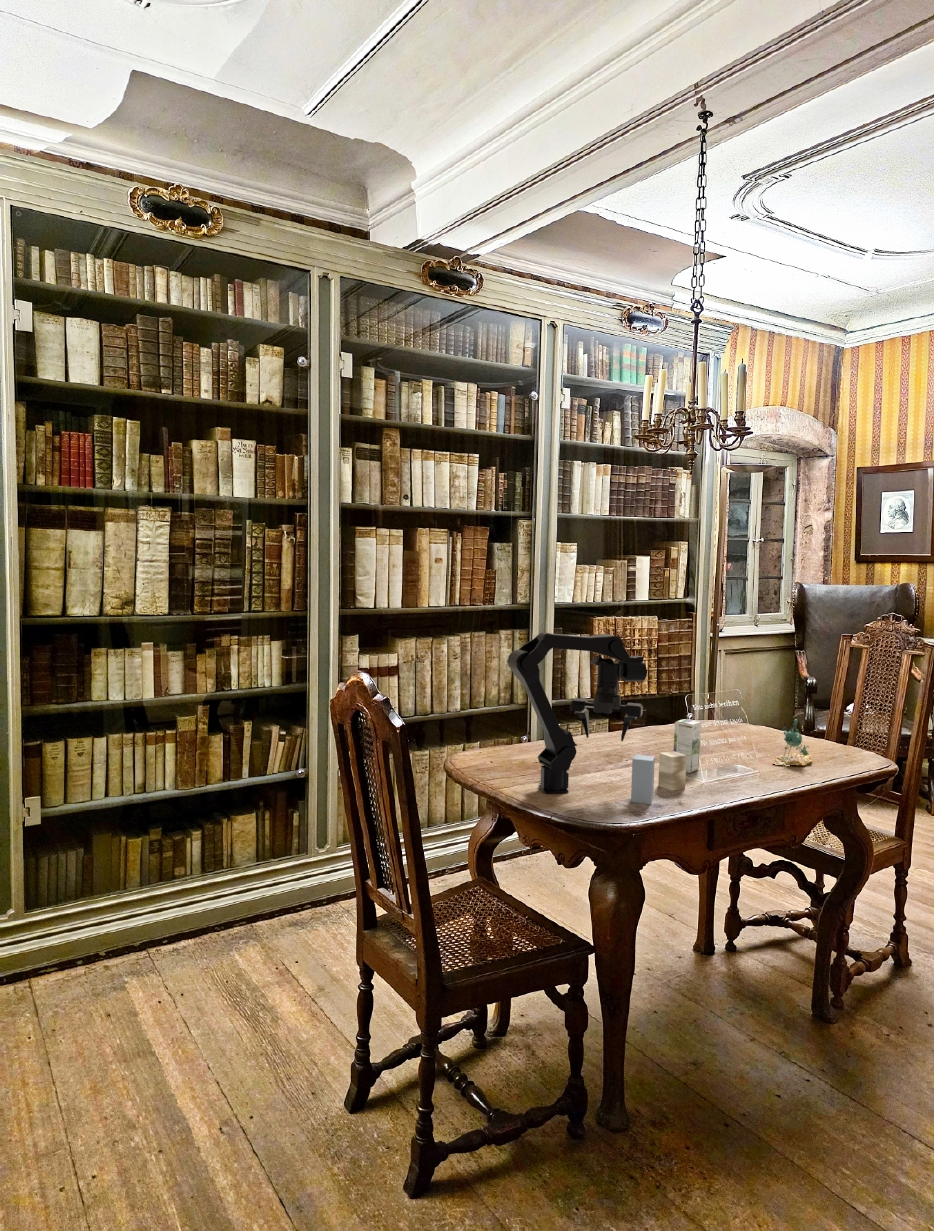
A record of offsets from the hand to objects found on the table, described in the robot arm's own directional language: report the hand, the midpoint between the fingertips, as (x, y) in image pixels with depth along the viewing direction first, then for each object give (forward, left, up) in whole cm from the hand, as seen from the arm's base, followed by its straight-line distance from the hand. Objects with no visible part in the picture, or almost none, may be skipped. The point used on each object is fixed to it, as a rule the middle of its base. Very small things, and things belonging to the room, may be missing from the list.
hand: (604, 739), depth 217 cm
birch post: (+18, -3, -13) cm, 23 cm away
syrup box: (+30, +13, -13) cm, 36 cm away
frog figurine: (+68, +17, -13) cm, 72 cm away
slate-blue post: (+5, -13, -13) cm, 19 cm away
